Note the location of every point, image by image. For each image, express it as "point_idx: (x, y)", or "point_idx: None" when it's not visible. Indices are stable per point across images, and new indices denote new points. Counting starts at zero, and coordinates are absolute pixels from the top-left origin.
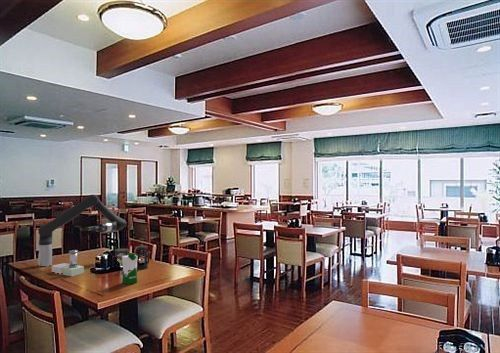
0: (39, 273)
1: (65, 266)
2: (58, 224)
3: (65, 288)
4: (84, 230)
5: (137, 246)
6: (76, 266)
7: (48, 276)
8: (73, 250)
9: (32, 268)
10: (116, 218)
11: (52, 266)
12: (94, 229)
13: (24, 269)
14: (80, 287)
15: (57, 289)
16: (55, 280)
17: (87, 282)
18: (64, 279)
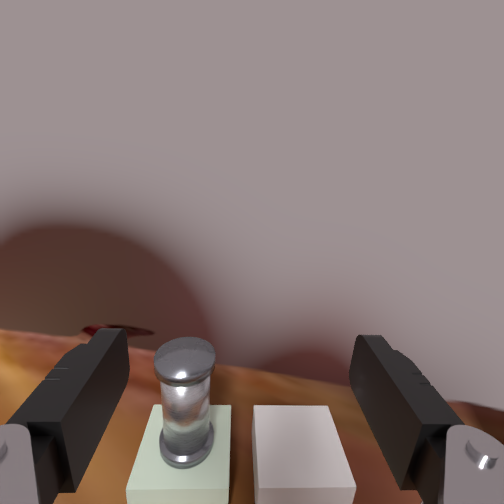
0: (349, 401)
1: (255, 436)
2: None
3: (70, 340)
4: (350, 370)
5: None
6: (159, 439)
7: (262, 390)
8: (196, 361)
9: (496, 438)
10: None
11: (321, 407)
12: (48, 381)
13: (487, 410)
14: (12, 359)
15: (93, 329)
16: None
17: (4, 404)
18: (153, 391)
